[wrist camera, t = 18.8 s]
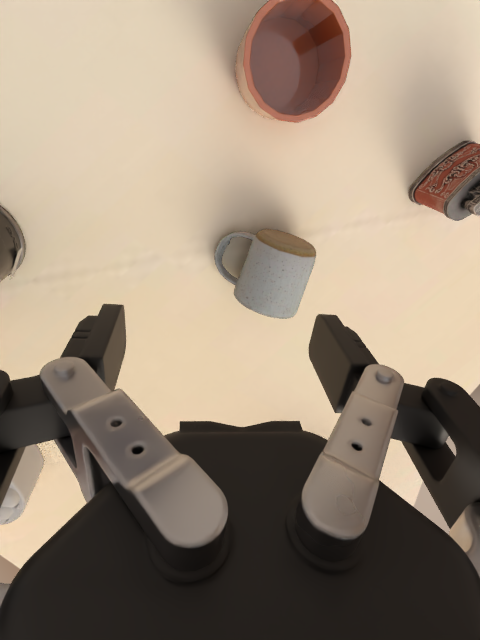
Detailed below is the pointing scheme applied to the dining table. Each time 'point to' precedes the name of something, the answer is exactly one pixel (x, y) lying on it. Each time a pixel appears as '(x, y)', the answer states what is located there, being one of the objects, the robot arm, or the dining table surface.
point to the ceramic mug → (271, 272)
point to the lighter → (451, 182)
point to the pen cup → (293, 59)
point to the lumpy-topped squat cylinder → (22, 484)
